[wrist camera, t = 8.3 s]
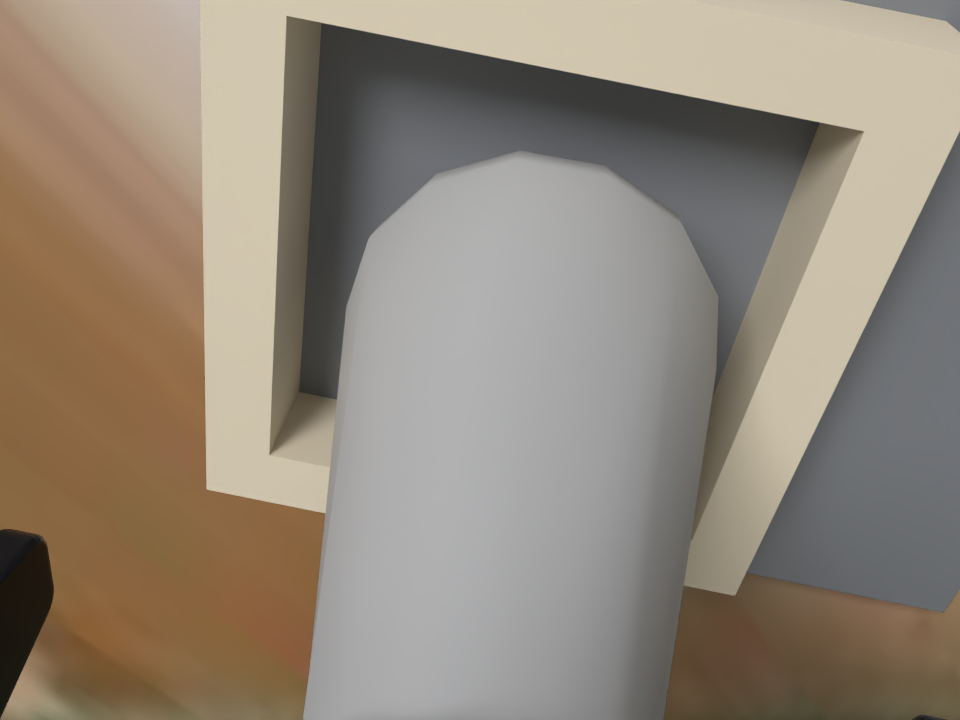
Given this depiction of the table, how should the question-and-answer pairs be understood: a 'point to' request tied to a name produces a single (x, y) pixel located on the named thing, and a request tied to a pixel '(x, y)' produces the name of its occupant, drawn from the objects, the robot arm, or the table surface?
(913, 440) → the build board
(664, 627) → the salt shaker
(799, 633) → the table surface
